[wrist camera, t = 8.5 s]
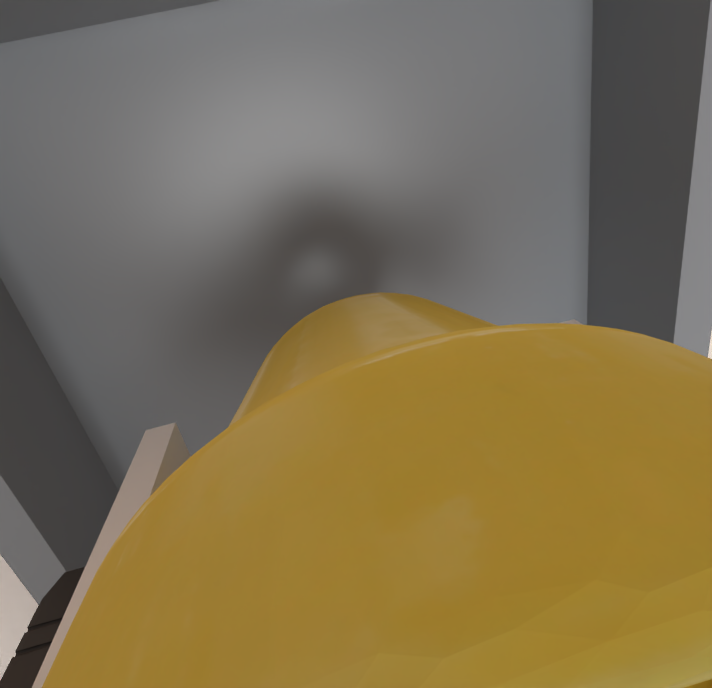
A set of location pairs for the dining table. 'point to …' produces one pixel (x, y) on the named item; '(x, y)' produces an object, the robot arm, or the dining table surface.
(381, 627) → the plant pot
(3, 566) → the dining table surface
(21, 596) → the dining table surface
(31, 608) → the dining table surface
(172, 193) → the crate
